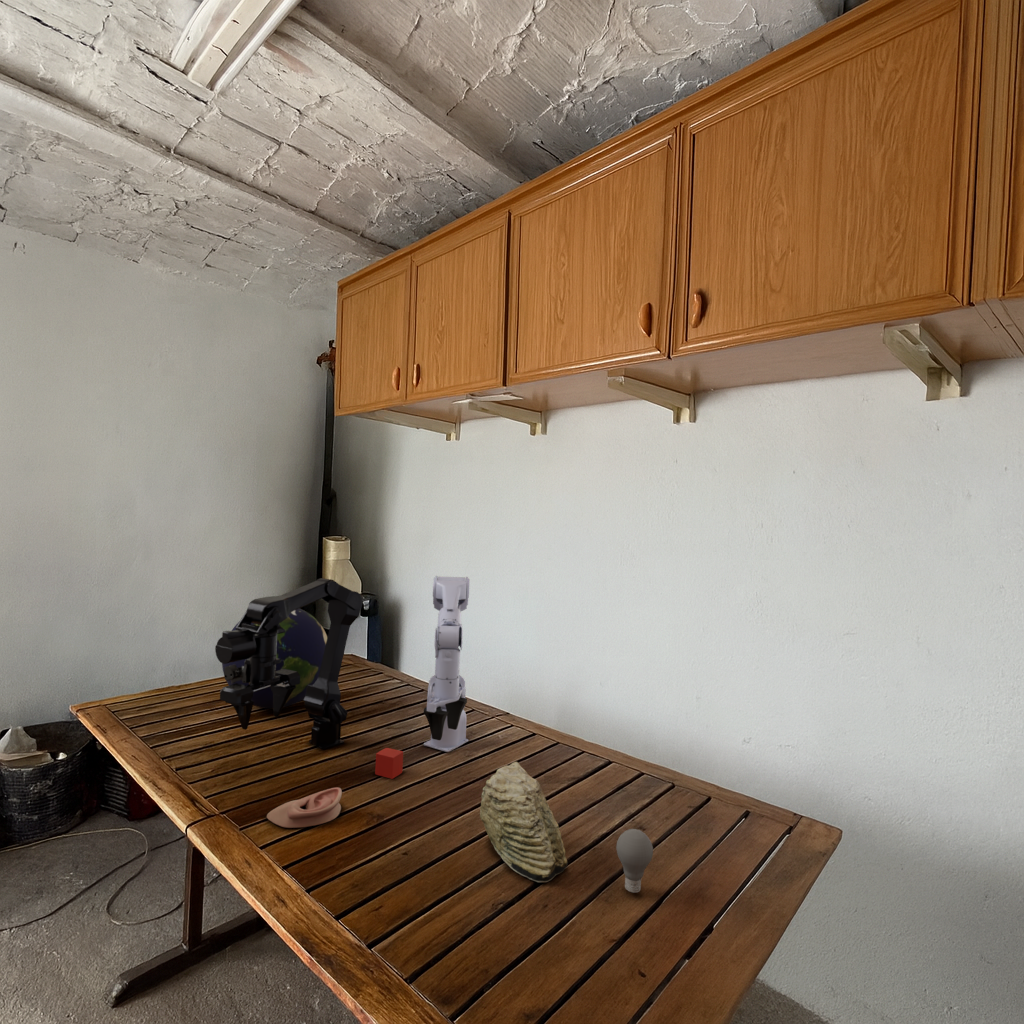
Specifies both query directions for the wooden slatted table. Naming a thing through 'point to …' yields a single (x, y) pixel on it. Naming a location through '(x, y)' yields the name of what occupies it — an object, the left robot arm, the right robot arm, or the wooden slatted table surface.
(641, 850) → the light bulb
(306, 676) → the globe
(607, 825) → the wooden slatted table surface
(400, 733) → the wooden slatted table surface
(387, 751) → the block
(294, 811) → the anatomical model
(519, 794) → the fossil
